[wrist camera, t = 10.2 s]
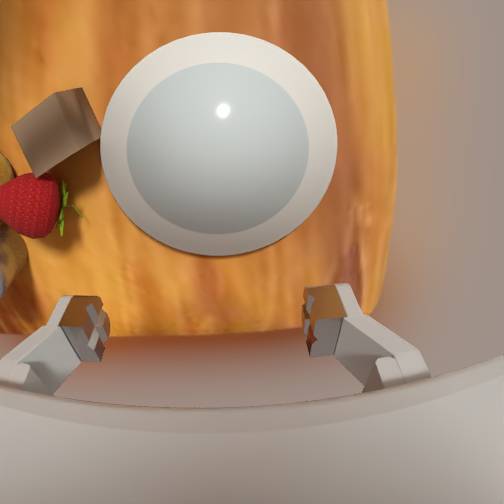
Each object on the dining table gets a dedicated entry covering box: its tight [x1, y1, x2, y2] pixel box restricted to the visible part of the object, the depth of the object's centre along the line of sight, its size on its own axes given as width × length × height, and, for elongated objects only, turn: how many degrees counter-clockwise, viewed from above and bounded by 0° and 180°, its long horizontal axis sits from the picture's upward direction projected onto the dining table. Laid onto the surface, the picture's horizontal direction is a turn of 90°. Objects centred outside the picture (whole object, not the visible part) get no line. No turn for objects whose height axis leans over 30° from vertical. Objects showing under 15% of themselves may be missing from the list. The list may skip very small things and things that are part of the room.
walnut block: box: [12, 88, 101, 178], centre depth 21 cm, size 5×5×5 cm
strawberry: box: [0, 173, 82, 239], centre depth 23 cm, size 6×8×10 cm
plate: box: [100, 32, 337, 256], centre depth 25 cm, size 20×20×1 cm
